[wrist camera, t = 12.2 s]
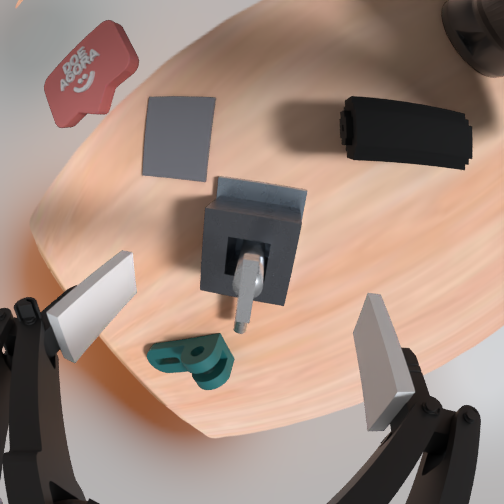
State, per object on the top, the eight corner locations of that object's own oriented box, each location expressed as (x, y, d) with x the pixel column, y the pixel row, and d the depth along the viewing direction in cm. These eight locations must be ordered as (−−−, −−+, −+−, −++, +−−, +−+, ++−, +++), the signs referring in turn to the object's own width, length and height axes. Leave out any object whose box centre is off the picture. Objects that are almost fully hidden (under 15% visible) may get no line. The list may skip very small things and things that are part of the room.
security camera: (450, 164, 32) (488, 175, 23) (335, 155, 34) (349, 160, 25) (450, 119, 29) (489, 118, 20) (332, 105, 32) (346, 93, 23)
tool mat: (151, 97, 34) (149, 96, 34) (215, 98, 33) (214, 97, 33) (144, 174, 39) (142, 175, 39) (206, 181, 38) (204, 181, 38)
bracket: (220, 332, 49) (209, 362, 42) (234, 358, 51) (226, 388, 44) (145, 344, 54) (129, 369, 46) (161, 366, 56) (147, 392, 49)
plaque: (61, 146, 35) (39, 83, 31) (76, 143, 39) (53, 84, 34) (138, 76, 30) (107, 14, 26) (151, 80, 34) (120, 20, 29)
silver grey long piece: (247, 214, 38) (234, 257, 25) (268, 217, 38) (268, 262, 25) (241, 260, 41) (227, 320, 28) (261, 263, 41) (257, 324, 28)
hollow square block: (220, 176, 38) (203, 185, 30) (306, 189, 37) (310, 203, 30) (209, 309, 47) (195, 339, 40) (278, 323, 46) (275, 355, 39)
